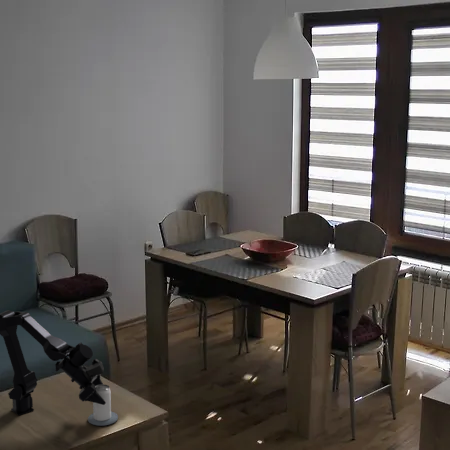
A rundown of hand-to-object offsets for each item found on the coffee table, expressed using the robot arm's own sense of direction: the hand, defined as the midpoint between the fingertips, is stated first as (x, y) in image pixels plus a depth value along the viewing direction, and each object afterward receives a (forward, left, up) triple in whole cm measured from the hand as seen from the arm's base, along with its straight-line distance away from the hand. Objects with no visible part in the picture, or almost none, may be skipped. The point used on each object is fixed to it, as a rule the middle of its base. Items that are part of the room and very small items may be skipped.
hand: (106, 398), depth 258 cm
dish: (-1, +1, -9) cm, 9 cm away
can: (-1, +1, -8) cm, 8 cm away
